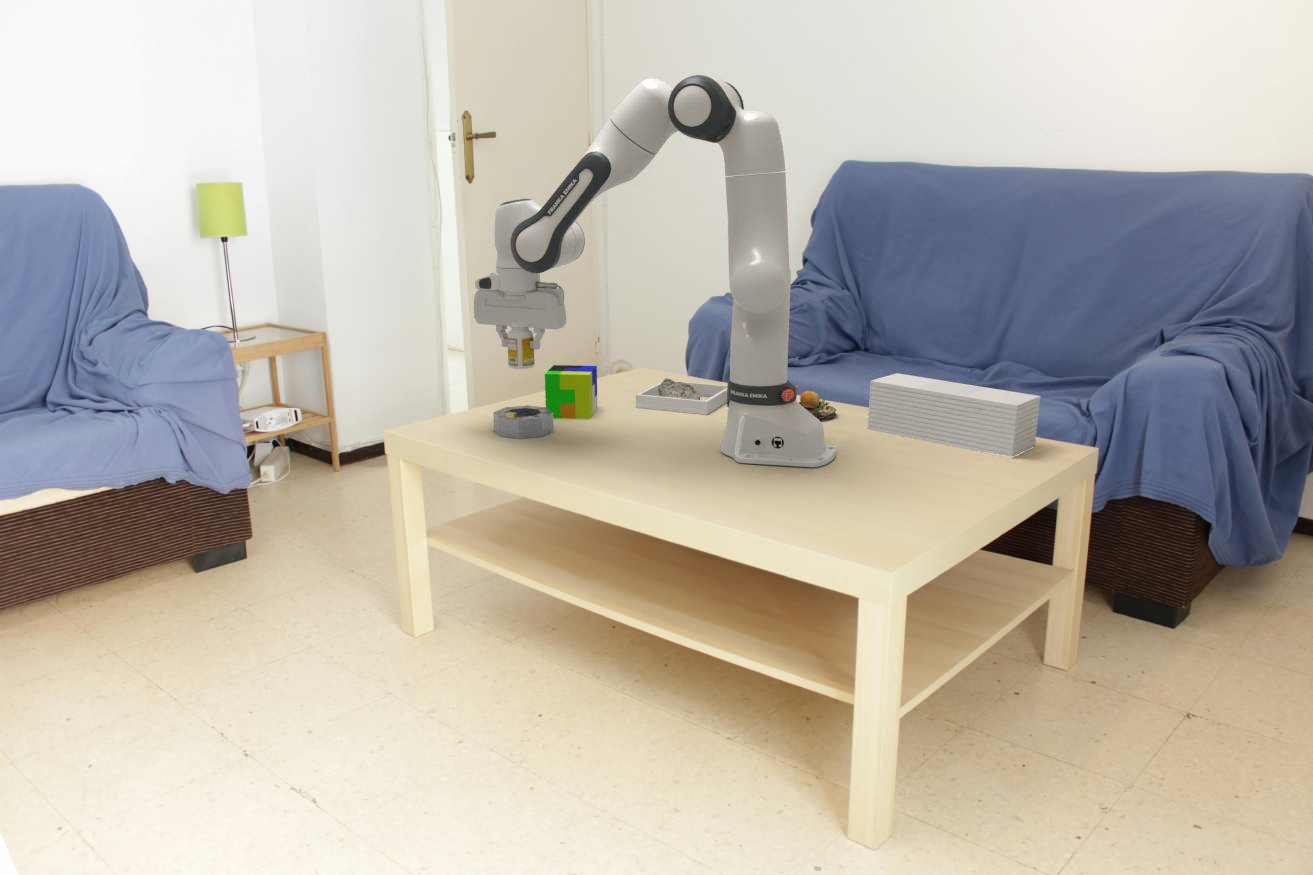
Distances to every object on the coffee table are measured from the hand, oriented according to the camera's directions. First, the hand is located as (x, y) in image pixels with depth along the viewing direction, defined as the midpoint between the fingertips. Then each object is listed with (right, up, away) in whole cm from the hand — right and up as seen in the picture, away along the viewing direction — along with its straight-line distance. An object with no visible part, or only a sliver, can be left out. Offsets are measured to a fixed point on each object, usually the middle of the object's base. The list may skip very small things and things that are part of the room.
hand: (521, 348), depth 208 cm
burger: (+62, -14, +18) cm, 66 cm away
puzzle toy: (+9, -13, +20) cm, 26 cm away
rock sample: (+34, -12, +26) cm, 44 cm away
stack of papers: (+88, -19, 0) cm, 90 cm away
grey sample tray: (+35, -10, +29) cm, 47 cm away
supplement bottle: (0, -4, +1) cm, 4 cm away
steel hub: (0, -17, +5) cm, 18 cm away
